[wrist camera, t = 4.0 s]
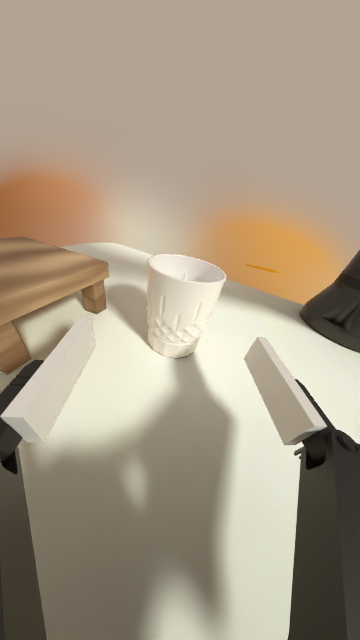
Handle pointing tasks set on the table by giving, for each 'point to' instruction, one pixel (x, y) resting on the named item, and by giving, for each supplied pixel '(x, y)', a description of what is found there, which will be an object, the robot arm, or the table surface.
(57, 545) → the table surface
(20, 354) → the stool
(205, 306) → the white cup
